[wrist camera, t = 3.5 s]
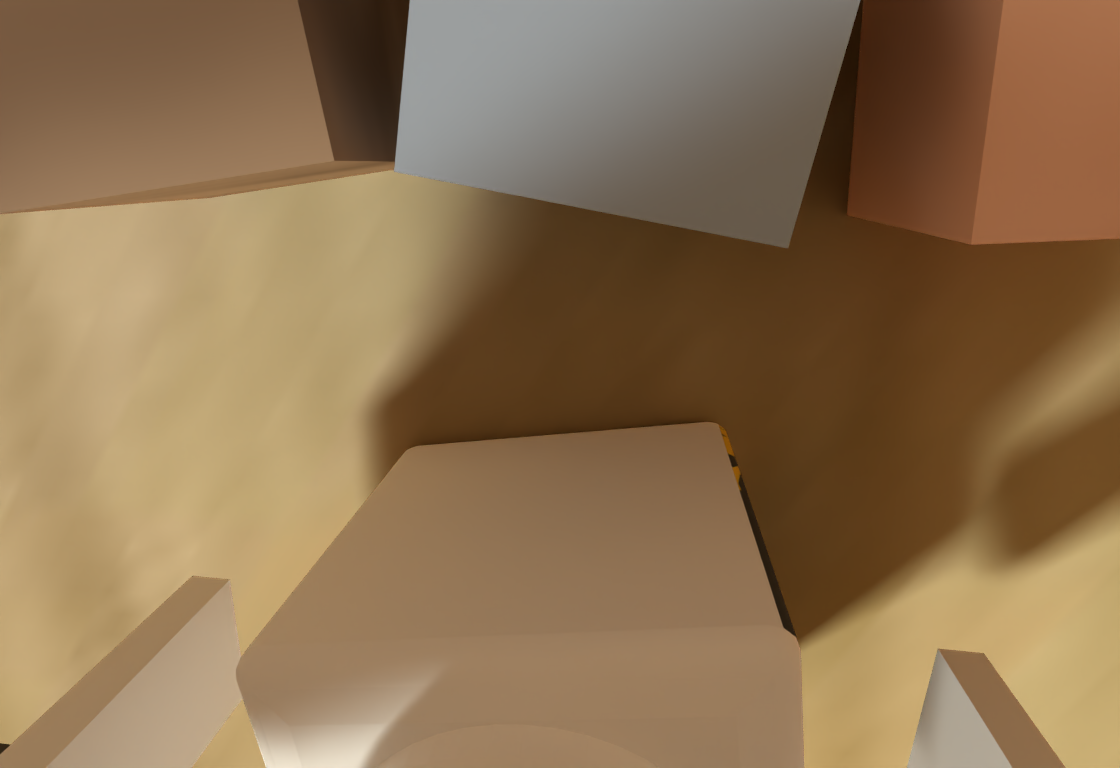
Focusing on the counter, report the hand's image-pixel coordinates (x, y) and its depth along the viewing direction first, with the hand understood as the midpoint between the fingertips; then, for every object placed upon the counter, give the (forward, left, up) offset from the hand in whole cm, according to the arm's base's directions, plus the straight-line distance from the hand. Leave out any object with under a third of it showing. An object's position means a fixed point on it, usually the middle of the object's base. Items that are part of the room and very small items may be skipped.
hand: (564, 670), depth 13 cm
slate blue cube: (-11, +1, -3) cm, 12 cm away
